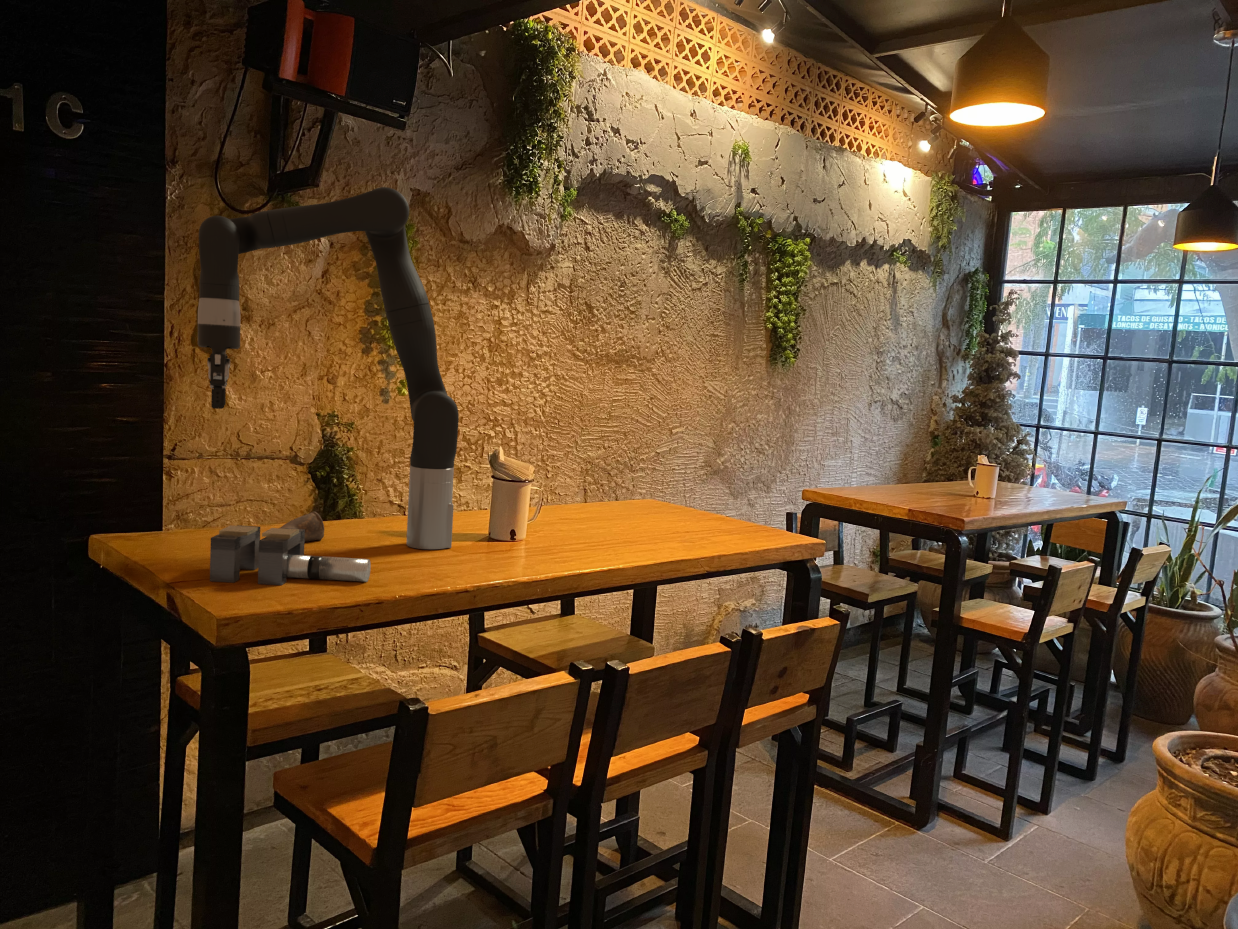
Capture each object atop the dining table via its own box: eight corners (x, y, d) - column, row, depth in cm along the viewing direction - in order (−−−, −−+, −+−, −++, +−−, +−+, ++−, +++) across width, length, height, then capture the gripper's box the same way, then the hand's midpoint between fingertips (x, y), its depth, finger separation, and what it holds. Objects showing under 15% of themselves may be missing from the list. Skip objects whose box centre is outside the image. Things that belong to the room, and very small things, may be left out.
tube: (370, 578, 158) (370, 556, 157) (364, 584, 154) (365, 562, 153) (268, 572, 157) (268, 550, 156) (260, 578, 153) (260, 556, 152)
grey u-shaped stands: (303, 569, 161) (305, 526, 160) (281, 585, 149) (283, 538, 149) (237, 565, 161) (238, 522, 160) (209, 581, 149) (210, 534, 148)
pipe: (275, 531, 171) (329, 522, 175) (270, 516, 186) (319, 508, 190) (280, 563, 172) (333, 553, 176) (274, 545, 187) (323, 536, 191)
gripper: (239, 323, 164) (239, 410, 166) (240, 325, 177) (240, 405, 179) (195, 320, 162) (195, 409, 163) (199, 322, 175) (199, 404, 176)
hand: (218, 407), depth 171 cm, fingers open, 8 cm apart
